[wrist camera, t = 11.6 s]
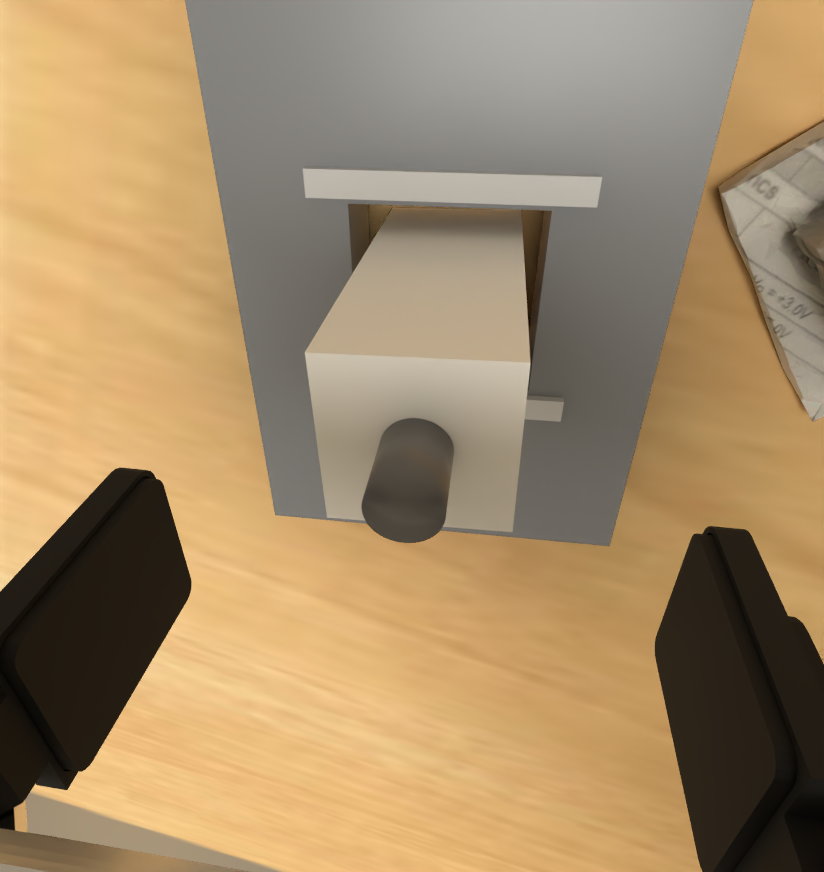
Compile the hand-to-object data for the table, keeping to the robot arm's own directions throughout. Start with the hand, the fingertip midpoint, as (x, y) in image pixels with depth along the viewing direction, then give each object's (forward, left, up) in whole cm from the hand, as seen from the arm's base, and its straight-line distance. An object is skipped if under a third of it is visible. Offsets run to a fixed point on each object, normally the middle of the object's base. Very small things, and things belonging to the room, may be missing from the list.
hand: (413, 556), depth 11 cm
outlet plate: (0, 0, -14) cm, 14 cm away
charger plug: (0, 0, -14) cm, 14 cm away
